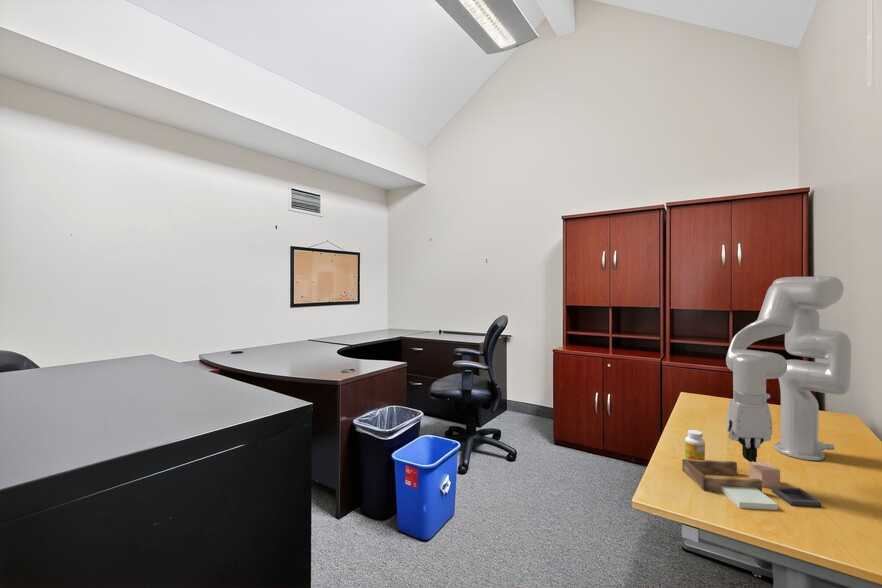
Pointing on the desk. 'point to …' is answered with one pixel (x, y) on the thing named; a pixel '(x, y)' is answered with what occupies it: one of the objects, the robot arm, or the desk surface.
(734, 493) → the sage tile
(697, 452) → the supplement bottle
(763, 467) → the terracotta cube
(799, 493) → the dark gray rectangular tray
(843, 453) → the desk surface
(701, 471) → the wooden tray frame
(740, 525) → the desk surface
